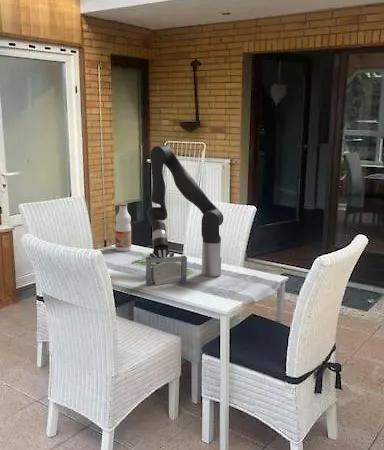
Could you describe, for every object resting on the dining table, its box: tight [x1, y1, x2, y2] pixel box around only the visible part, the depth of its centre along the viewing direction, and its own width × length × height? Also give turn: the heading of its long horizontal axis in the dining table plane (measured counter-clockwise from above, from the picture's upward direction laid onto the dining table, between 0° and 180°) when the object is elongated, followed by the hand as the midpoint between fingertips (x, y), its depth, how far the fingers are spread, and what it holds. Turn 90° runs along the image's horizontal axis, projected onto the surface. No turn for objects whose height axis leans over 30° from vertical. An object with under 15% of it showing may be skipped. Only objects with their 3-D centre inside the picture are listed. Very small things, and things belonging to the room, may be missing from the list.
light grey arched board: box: [151, 262, 181, 286], centre depth 239 cm, size 17×5×10 cm, turn 121°
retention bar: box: [145, 255, 188, 287], centre depth 234 cm, size 19×4×13 cm, turn 102°
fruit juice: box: [114, 202, 132, 252], centre depth 294 cm, size 9×9×28 cm
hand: (163, 270), depth 242 cm, fingers closed
